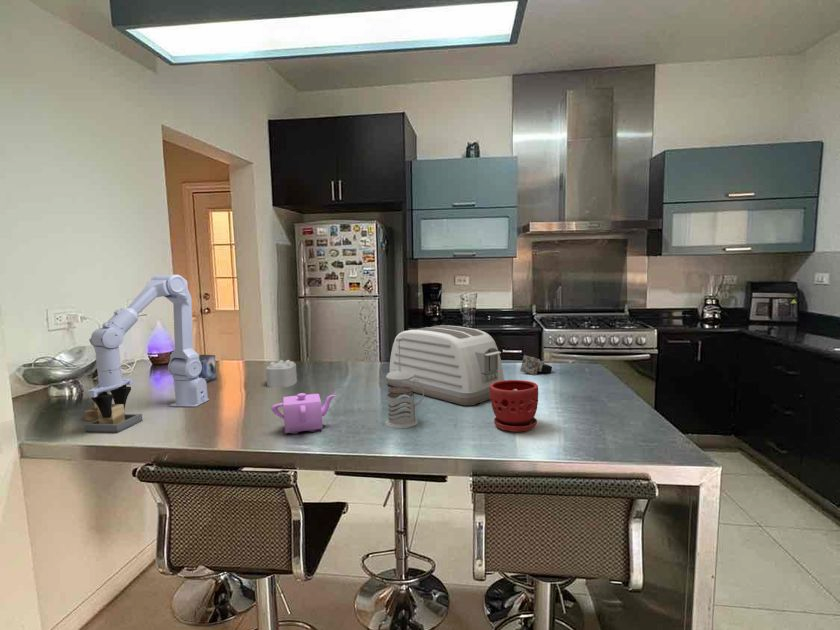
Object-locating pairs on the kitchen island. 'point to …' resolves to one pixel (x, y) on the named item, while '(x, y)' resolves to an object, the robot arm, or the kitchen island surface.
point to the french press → (401, 399)
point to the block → (113, 415)
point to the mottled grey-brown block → (534, 366)
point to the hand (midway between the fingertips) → (113, 414)
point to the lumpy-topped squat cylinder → (281, 374)
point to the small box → (208, 367)
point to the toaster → (448, 363)
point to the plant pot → (514, 404)
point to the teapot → (302, 412)
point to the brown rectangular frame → (91, 415)
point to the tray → (114, 425)
